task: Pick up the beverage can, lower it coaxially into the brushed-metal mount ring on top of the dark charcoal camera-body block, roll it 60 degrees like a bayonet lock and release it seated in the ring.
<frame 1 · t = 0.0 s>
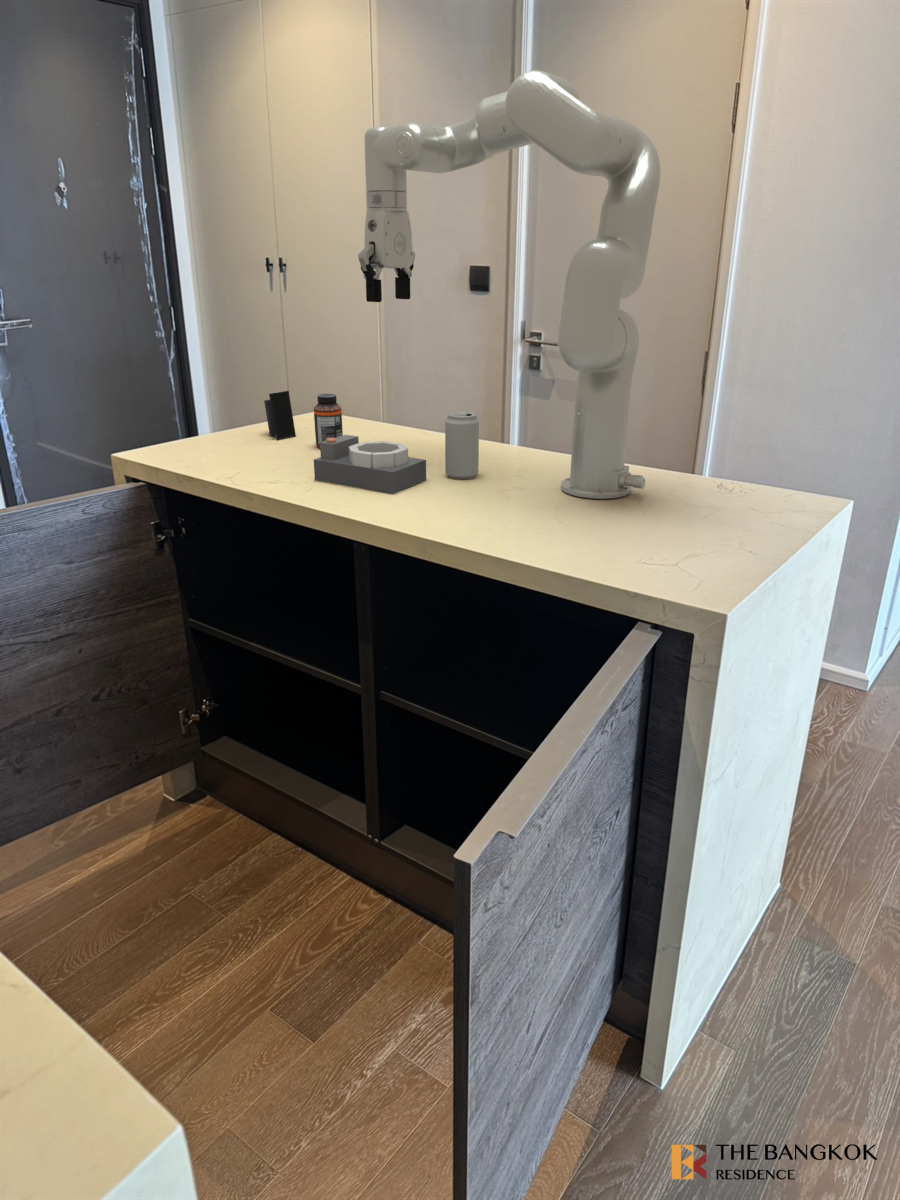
hand: (388, 300, 167), 31 cm above the worktop, tool pointing down, fingers open, 9 cm apart
beverage can: (461, 477, 167), on the worktop
supplement bottle: (329, 448, 189), on the worktop
speaker: (279, 436, 199), on the worktop
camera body: (370, 480, 163), on the worktop
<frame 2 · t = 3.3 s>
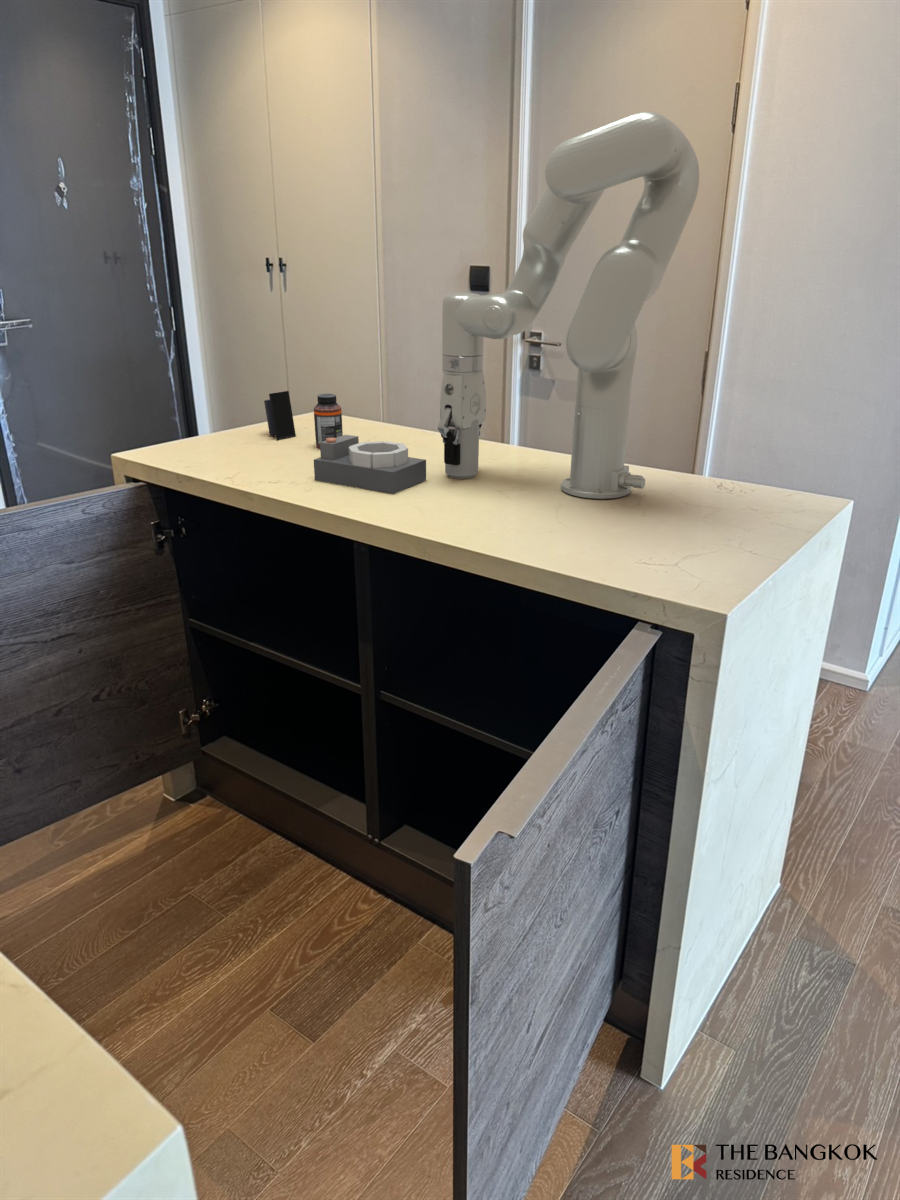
hand: (461, 459, 165), 3 cm above the worktop, tool pointing down, fingers closed on beverage can, 6 cm apart
beverage can: (461, 476, 167), on the worktop, touching gripper
everything else where it was.
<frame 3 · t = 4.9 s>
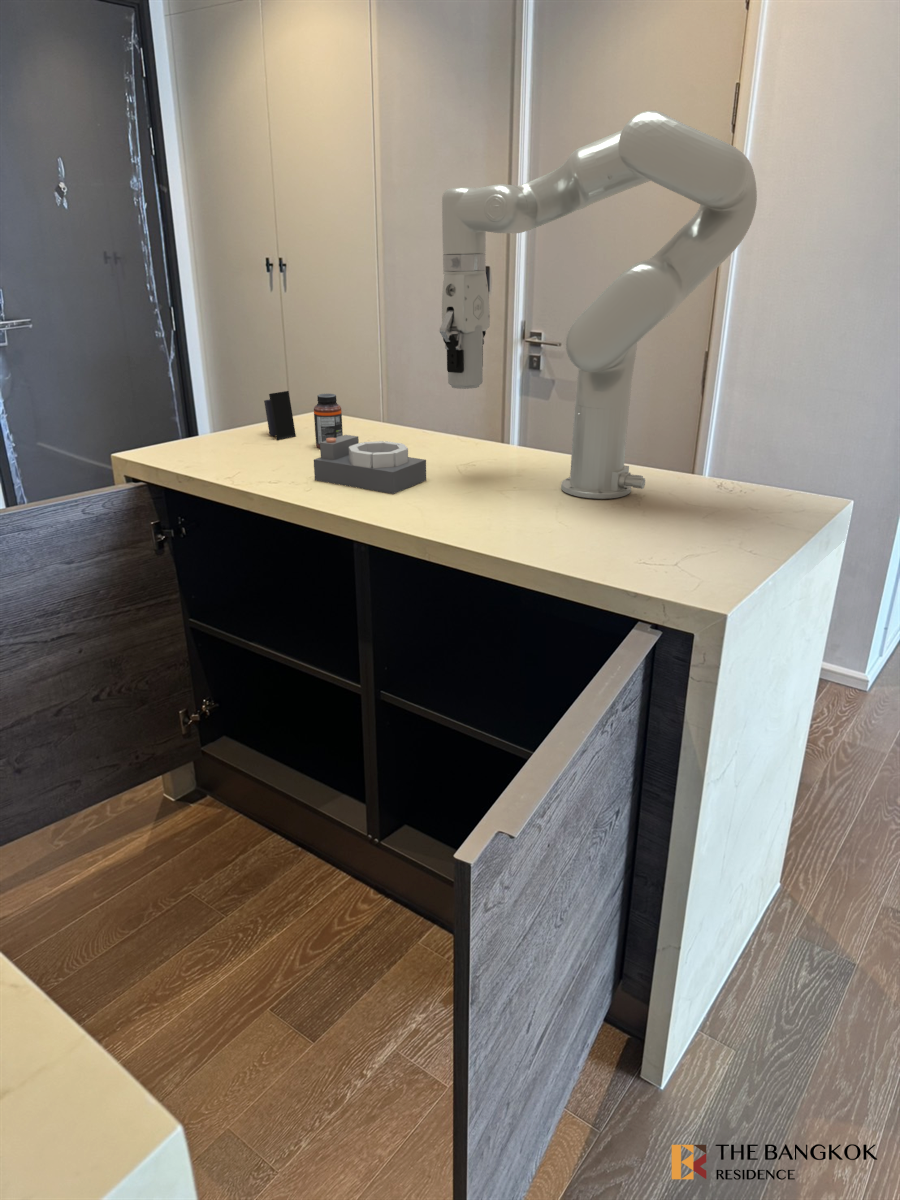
hand: (465, 368, 159), 20 cm above the worktop, tool pointing down, fingers closed on beverage can, 6 cm apart
beverage can: (465, 387, 160), point 17 cm above the worktop, touching gripper
everything else where it was.
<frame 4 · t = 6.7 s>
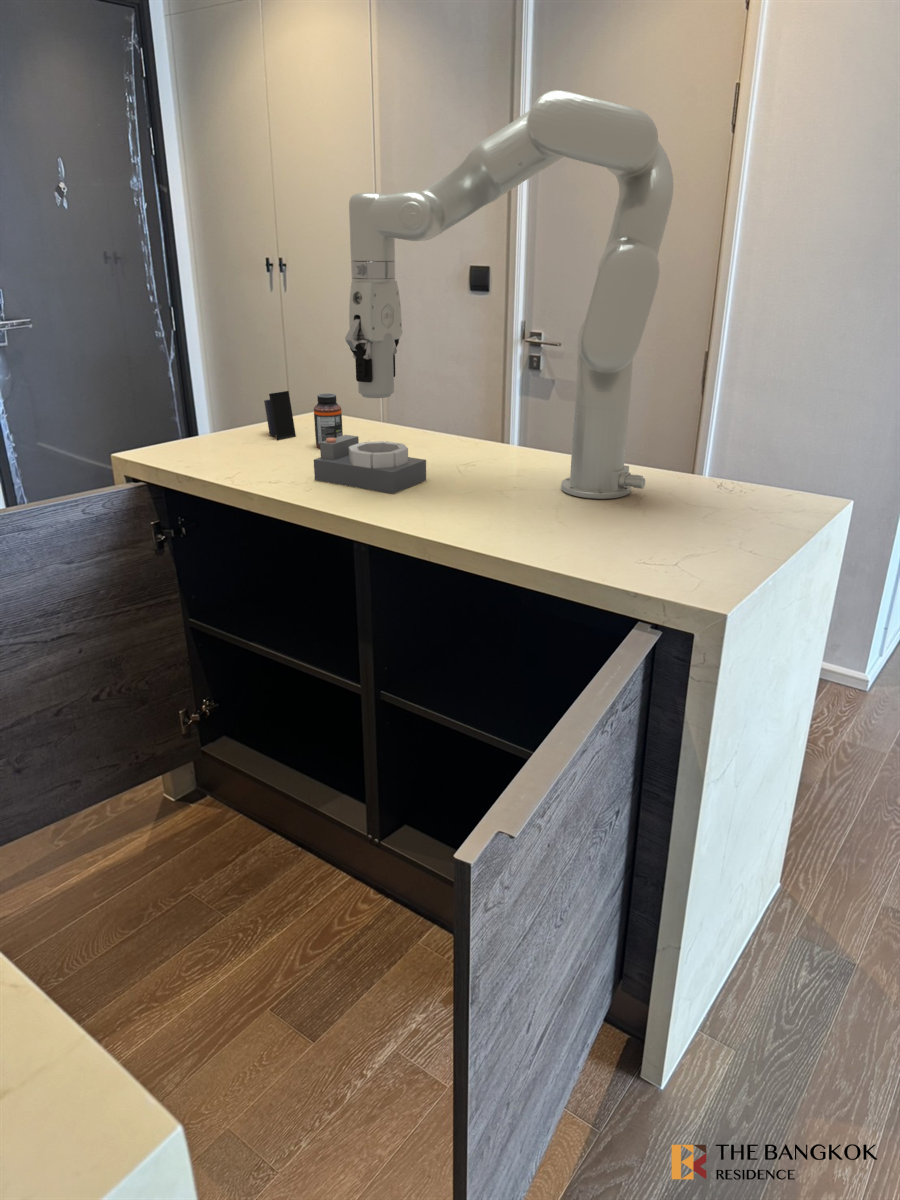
hand: (376, 378, 155), 19 cm above the worktop, tool pointing down, fingers closed on beverage can, 6 cm apart
beverage can: (376, 397, 156), point 16 cm above the worktop, touching gripper
everything else where it was.
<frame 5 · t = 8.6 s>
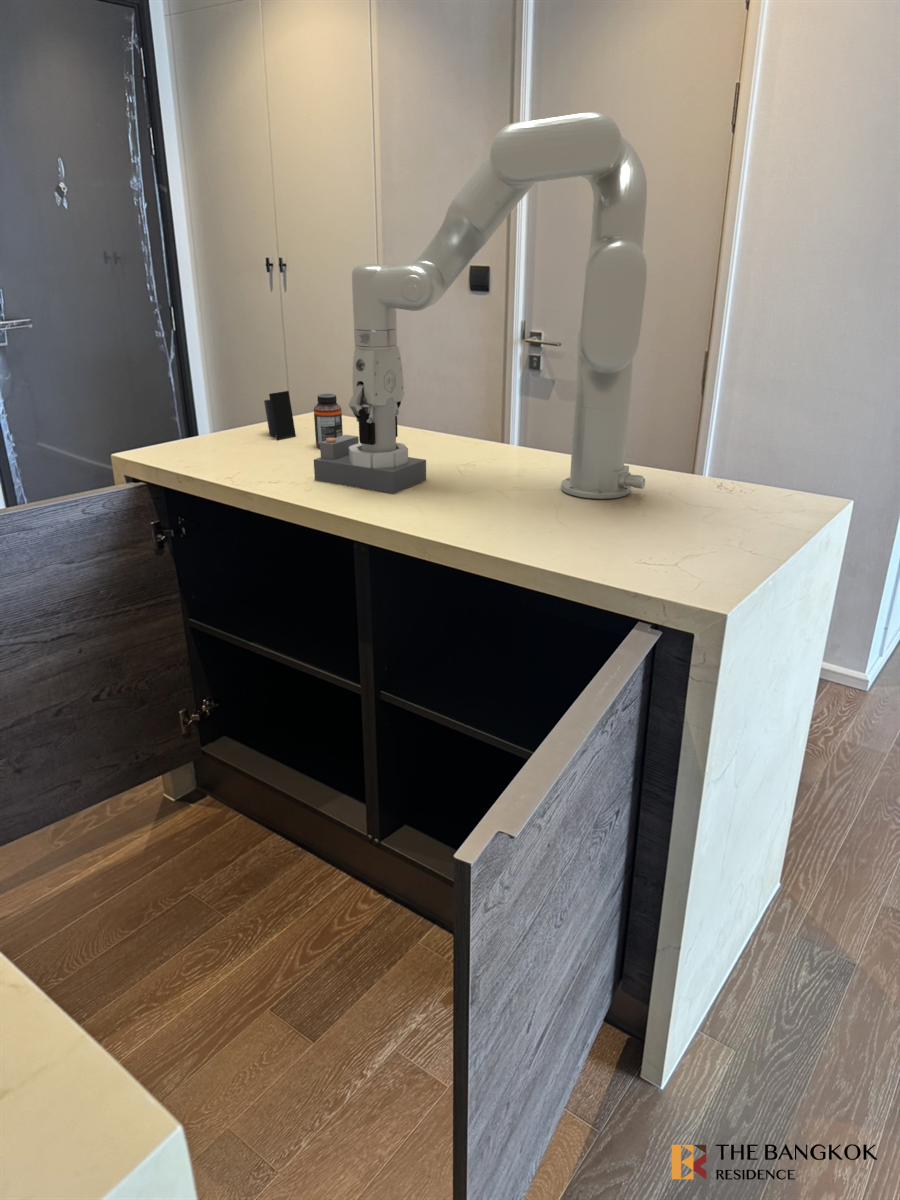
hand: (378, 439, 159), 8 cm above the worktop, tool pointing down, fingers closed on beverage can, 6 cm apart
beverage can: (379, 457, 160), point 5 cm above the worktop, touching gripper
everything else where it was.
when the fingers open (8 cm above the worktop, at t = 10.1 s): beverage can stays where it is, resting on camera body.
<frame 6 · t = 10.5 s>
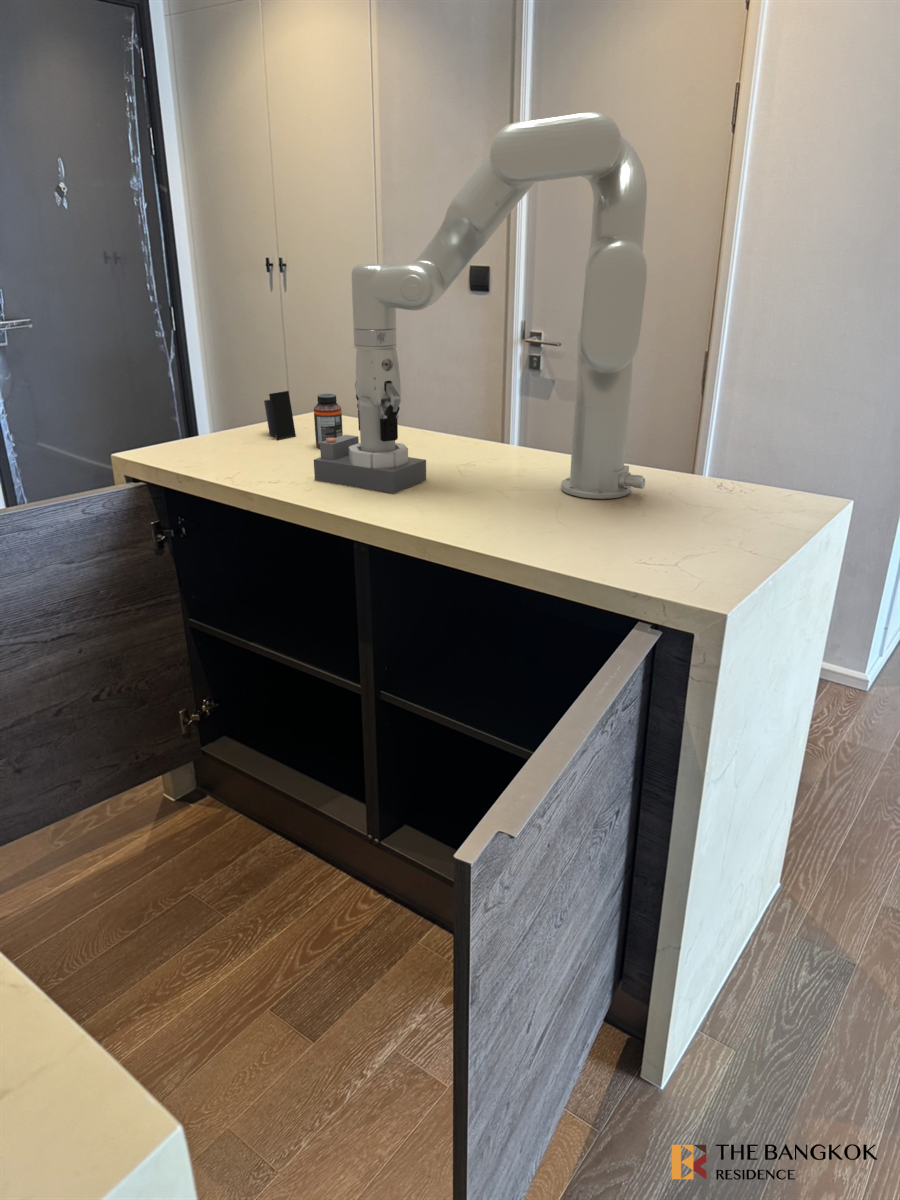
hand: (377, 435, 159), 9 cm above the worktop, tool pointing down, fingers open, 9 cm apart
beverage can: (378, 461, 161), point 4 cm above the worktop, touching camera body
everything else where it was.
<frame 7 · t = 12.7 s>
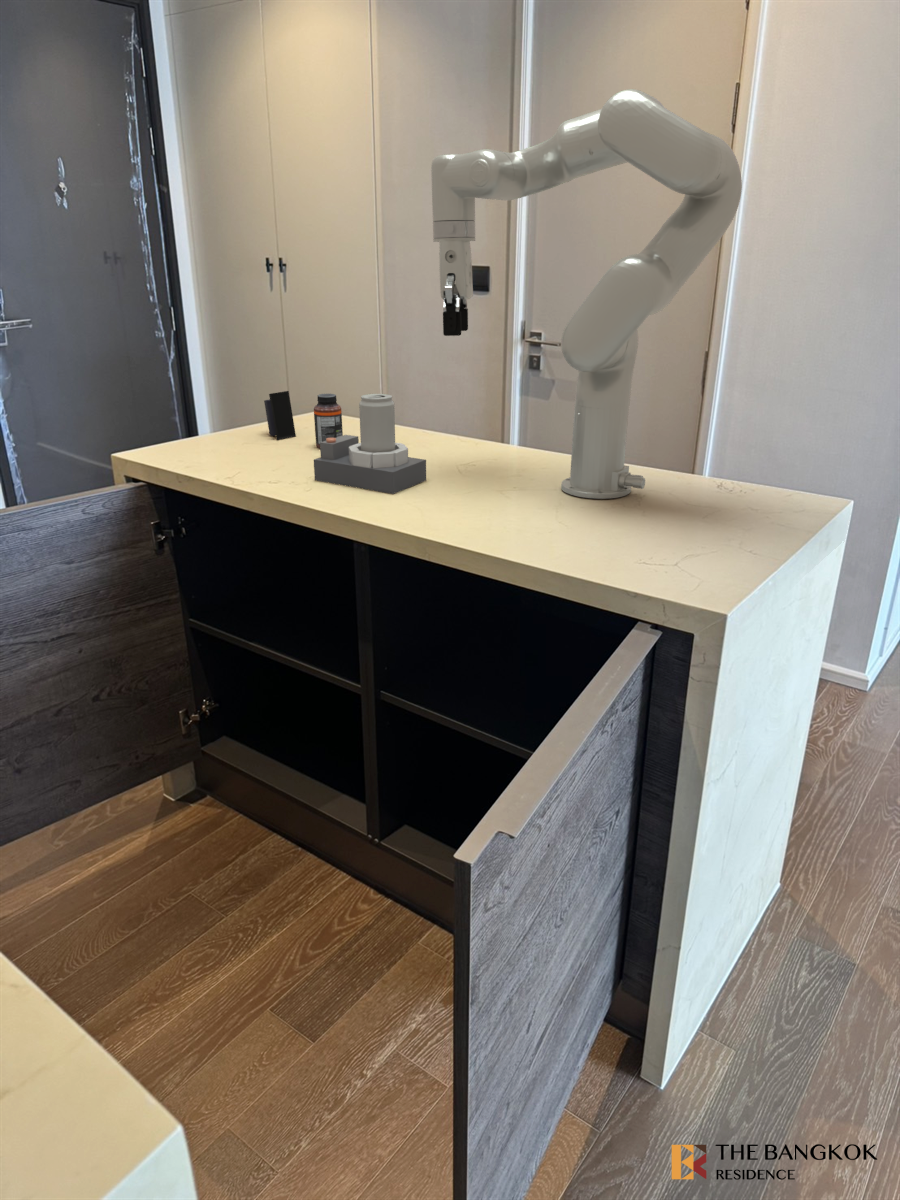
hand: (456, 333, 160), 26 cm above the worktop, tool pointing down, fingers open, 9 cm apart
nothing on the worktop moved.
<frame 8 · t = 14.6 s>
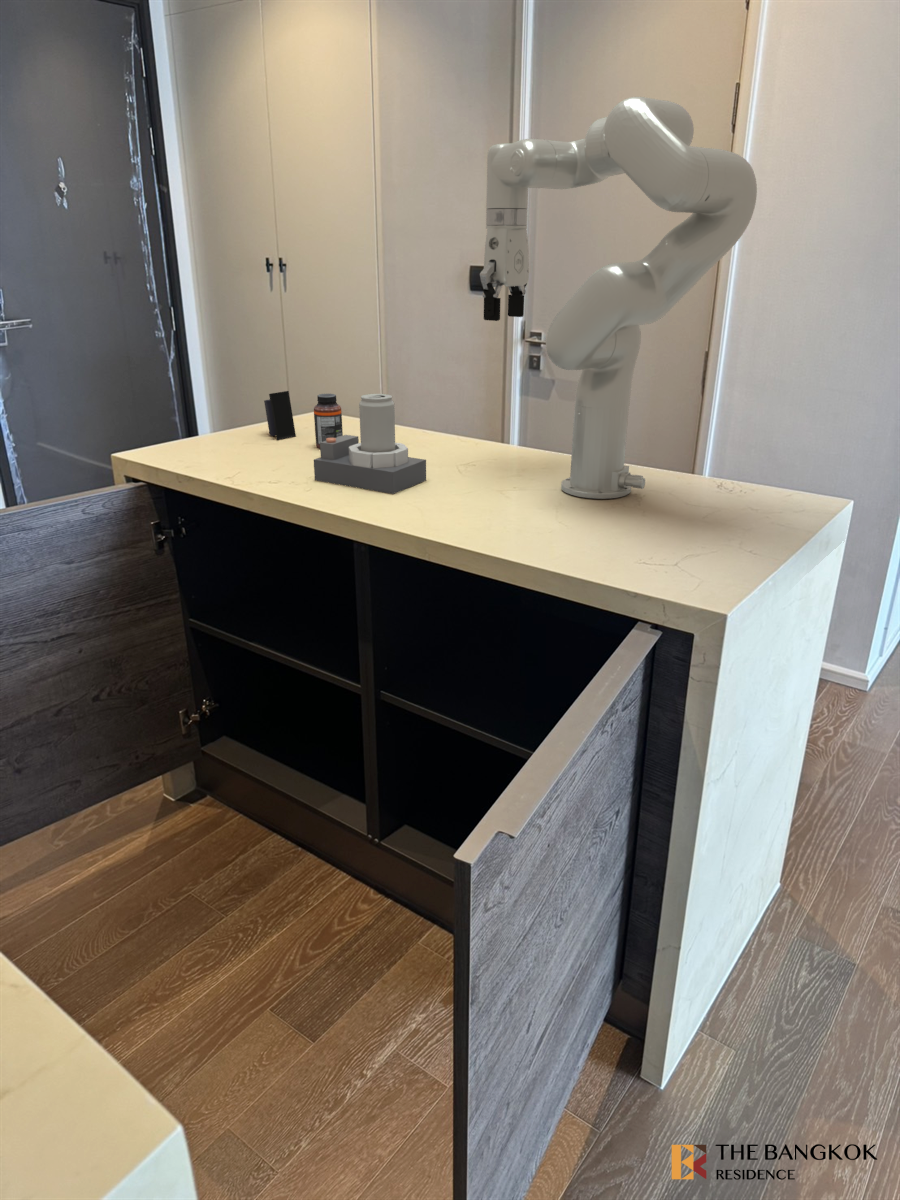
hand: (503, 318, 164), 28 cm above the worktop, tool pointing down, fingers open, 9 cm apart
nothing on the worktop moved.
at the end: beverage can 0.1 cm from the target spot on the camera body, point 3.8 cm above the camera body's base; beverage can tilted 0°; the gripper is holding nothing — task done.
